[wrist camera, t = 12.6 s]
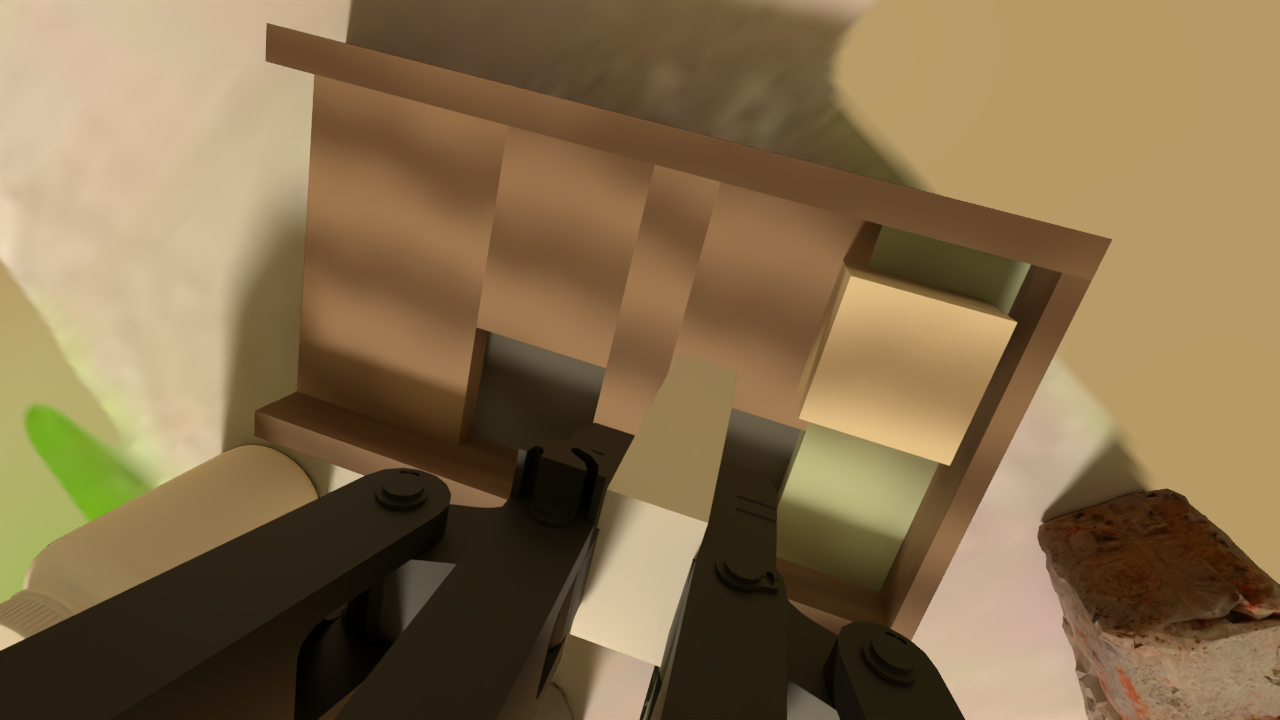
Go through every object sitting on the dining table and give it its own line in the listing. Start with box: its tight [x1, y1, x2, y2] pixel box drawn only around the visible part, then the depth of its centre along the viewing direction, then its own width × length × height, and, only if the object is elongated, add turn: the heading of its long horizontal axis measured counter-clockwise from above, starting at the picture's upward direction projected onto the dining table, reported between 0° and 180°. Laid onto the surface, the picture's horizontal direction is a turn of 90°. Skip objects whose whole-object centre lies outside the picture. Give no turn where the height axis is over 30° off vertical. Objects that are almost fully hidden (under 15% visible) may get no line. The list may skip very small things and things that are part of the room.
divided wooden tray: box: [254, 23, 1112, 641], centre depth 30 cm, size 20×34×5 cm, turn 77°
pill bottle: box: [0, 445, 318, 651], centre depth 34 cm, size 8×8×15 cm
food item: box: [1037, 489, 1280, 720], centre depth 26 cm, size 14×8×10 cm, turn 28°
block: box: [798, 261, 1017, 466], centre depth 26 cm, size 6×6×4 cm
